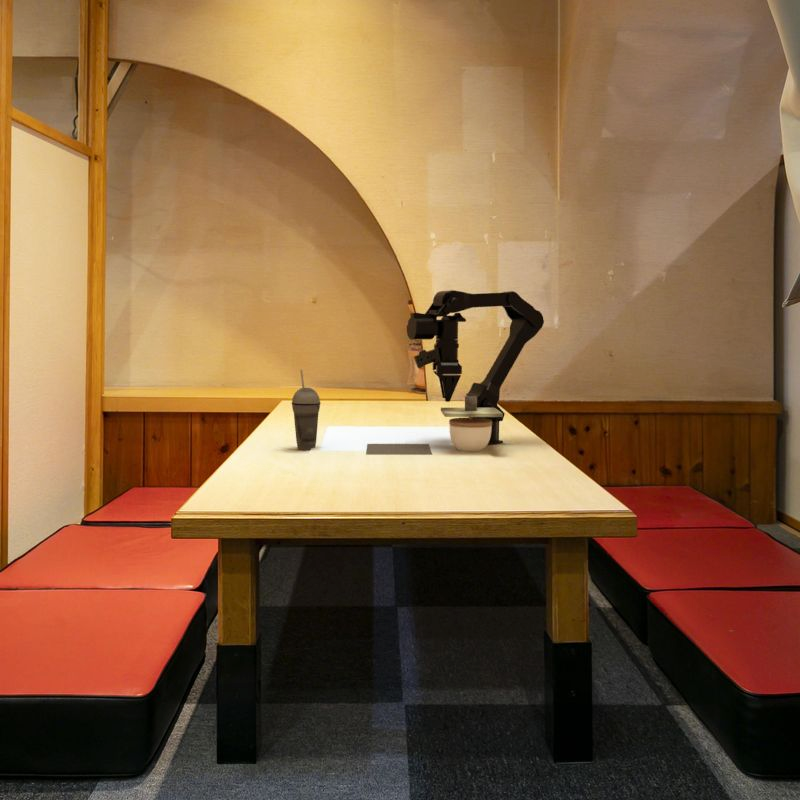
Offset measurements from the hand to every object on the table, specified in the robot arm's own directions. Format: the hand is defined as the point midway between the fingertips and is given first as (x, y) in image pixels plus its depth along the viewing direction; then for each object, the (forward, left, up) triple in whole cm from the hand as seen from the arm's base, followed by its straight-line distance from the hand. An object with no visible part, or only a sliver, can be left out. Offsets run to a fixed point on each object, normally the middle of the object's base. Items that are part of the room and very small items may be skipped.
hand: (446, 399), depth 198 cm
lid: (0, +10, -3) cm, 10 cm away
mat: (+15, -1, -12) cm, 19 cm away
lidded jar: (0, +10, -12) cm, 16 cm away
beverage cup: (+32, -17, -12) cm, 38 cm away
